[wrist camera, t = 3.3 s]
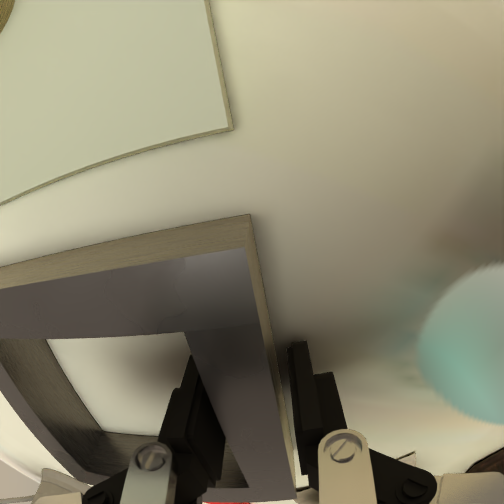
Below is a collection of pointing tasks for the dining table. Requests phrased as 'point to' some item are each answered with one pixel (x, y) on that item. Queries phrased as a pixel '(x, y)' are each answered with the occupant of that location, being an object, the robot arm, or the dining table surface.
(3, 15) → the post
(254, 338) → the square metal frame
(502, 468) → the manual coffee grinder
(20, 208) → the dining table surface
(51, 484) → the glass holder
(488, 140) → the dining table surface
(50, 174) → the plate
